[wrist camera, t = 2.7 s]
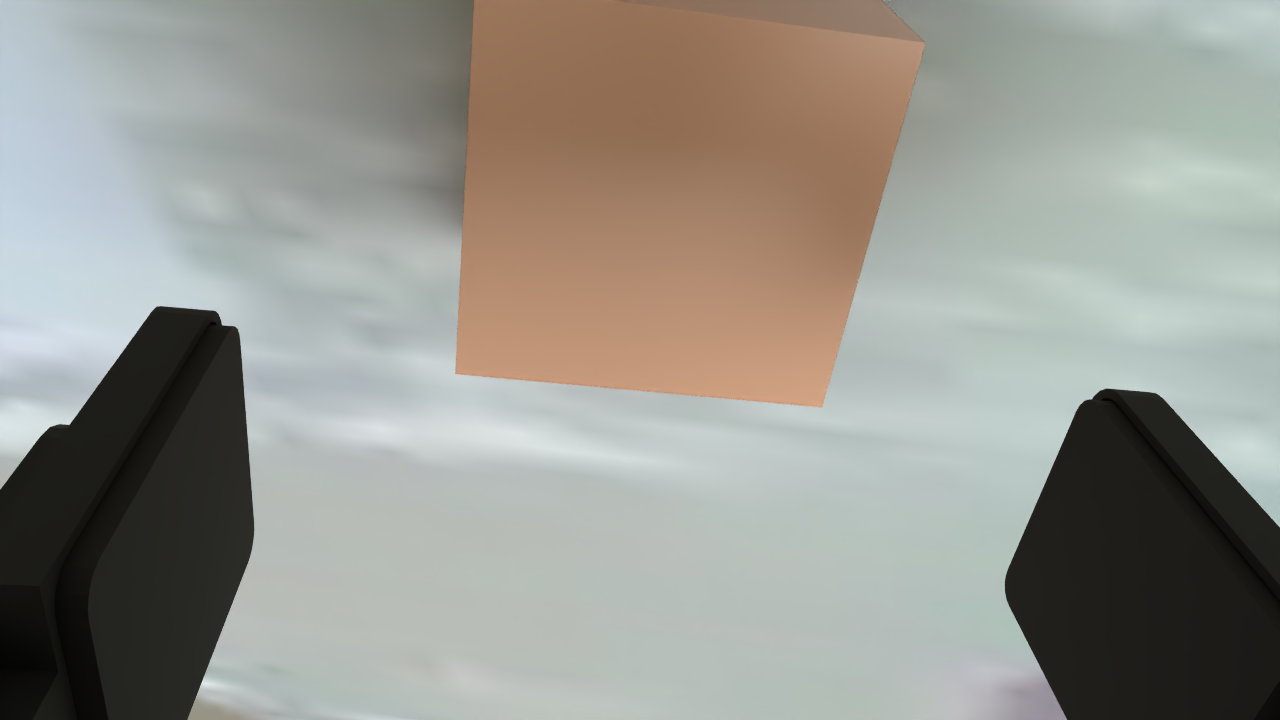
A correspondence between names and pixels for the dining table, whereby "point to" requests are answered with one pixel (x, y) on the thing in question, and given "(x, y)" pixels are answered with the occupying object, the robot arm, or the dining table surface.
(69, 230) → the dining table surface
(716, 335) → the peach cube
